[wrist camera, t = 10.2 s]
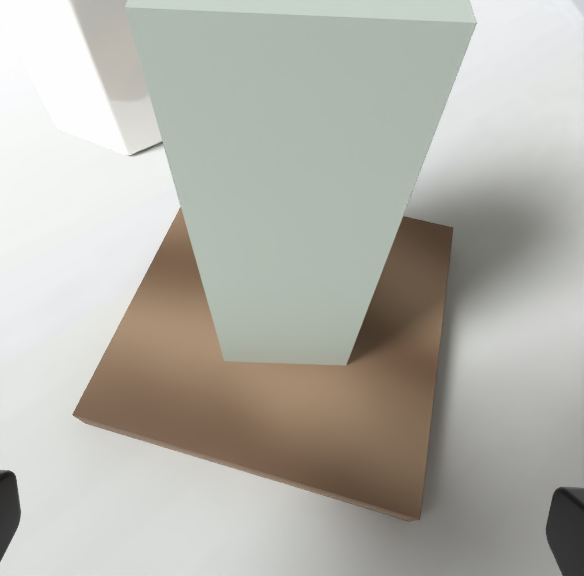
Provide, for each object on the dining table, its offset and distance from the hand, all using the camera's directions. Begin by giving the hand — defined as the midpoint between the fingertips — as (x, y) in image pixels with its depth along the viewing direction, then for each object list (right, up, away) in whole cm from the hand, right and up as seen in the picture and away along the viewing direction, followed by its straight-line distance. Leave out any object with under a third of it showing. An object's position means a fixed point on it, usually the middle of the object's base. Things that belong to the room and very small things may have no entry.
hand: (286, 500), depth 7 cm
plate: (0, +2, +11) cm, 11 cm away
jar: (-9, +14, +18) cm, 25 cm away
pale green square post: (0, +3, +10) cm, 11 cm away
